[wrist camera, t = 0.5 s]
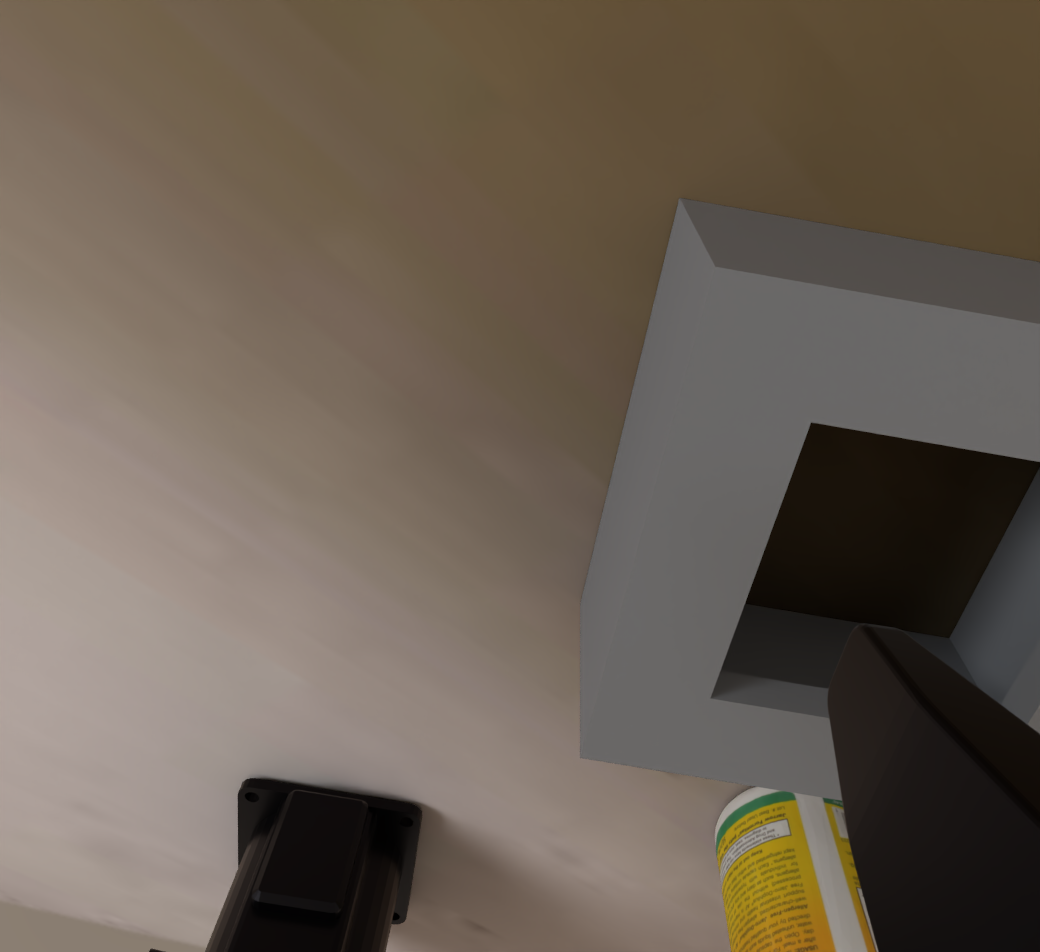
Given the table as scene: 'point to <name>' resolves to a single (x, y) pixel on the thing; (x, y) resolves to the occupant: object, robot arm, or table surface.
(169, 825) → the table surface
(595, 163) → the table surface
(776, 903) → the supplement bottle
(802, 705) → the drop box
